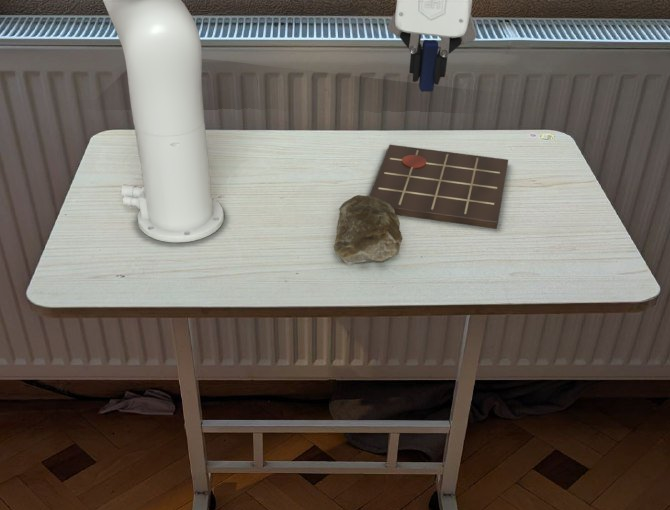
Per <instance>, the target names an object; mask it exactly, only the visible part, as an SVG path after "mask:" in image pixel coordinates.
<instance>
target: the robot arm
mask: <svg viewBox="0 0 670 510" xmlns="http://www.w3.org/2000/svg"><path fill="white" fill-rule="evenodd" d="M102 2H103V5H104V6H105V8H106V11H107V14H108V16H109V18H110V20H111V22H112V25H113V28H114V30H115V32H116V33H117V37H118V41H119V42H120V45H121V47H122V52H123V56H124V61H125V65H126V66H125V68H126V74H127V83H128V84H127V85H128V93H129V95H128V96H129V101H130V109H131V116H132V123H133V127H134V133H135V134H134V135H135V139H136V145H137V147H136V148H137V153H138V159H139V167H140V173H141V180H142V187H141V186H137V185H131V184H126V183H124V184H122V185H121V190H120V194H121V197H122V205H124V206H129V207H137V209H139V211H138V213H137V224H138V227H139V230H141V232H142V233H144V234H145V235H146V236H148V237H149V238H151V239H154V240H157V241H160V242H165V243H177V244H179V243H189V242H194V241H195V242H196V241H198V240H199V241H200V240H202V239H205V238H207V237H209V236H210V235H213V234H214V233H215V232H217V231H218V230H219V229H220V227H221V226H222V225H223V224H224V220H225V217H224V216H225V215H224V213H225V212H224V209H223V206H222V204H221V203H219V202H218V201H217V200H216V199H214V198H213V197H212V187H211V177H210V165H209V155H208V154H209V153H208V143H207V132H206V120H205V119H206V118H205V111H204V100H203V99H204V98H203V81H202V77H203V75H202V72H203V50H202V49H203V48H202V41H201V37H200V33H199V29H198V27H197V25H196V24H197V23H196V22H195V19H194V18H193V16H192V14H191V12H190V11H189V10H188V8H187V6H186V4H185V3H184V2H183V1H182V0H102ZM472 6H473V0H396V5H395V12H394V14H393V15H392V17H391V19H390V20H389V23H388V25H387V27H386V28H387V31H388V32H389V33H391V34H393V35H394V36H396V37H398V38H400V40H401V41H402V43H403V44H404V45H405V46H406V47H407V49H408V52H409V53H410V61H409V74H412V82H413V83H417V82H418V81H419V78H420V67H421V56H422V44H421V40H422V35H423V36H431V37H432V36H433V37H440V47H439V48H438V53H437V57H436V63H435V72H434V81H433V83H434V85H437V86H438V85H439V83H440V80H441V78H445V77H446V71H447V64H448V56H449V55H450V54H451V53H452V52H454V51H455V50H456V49H457V48H458V47H460V46H461V45H465V44H468V43H470V42H473V41H475V40H476V38H477V35H478V33H477V29H476V26H475V23H474V19H473V16H472Z"/></svg>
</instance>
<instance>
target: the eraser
mask: <svg viewBox="0 0 670 510" xmlns="http://www.w3.org/2000/svg"><path fill="white" fill-rule="evenodd" d="M421 47H422V56H421V67H420V77H419V79H418V81H419V82H418V88H419V91H420V92H424V93H428V92H430V93H431V92H432V93H433V91H434V88H435V87H434V86H435V83H433V81H434V72H435V63H436V57H437V54H438V51H439V42H438V40H436V39H430V40H429V39H424V40H423V42H422V45H421Z"/></svg>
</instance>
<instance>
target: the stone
mask: <svg viewBox="0 0 670 510" xmlns="http://www.w3.org/2000/svg"><path fill="white" fill-rule="evenodd" d="M338 210H339V212H338V215H339V216H338V220H337V225H336V232H335V233H336V235H335V239H334V245H333V250H334V251H335V253H336V254H337V255H338V256H339V258H340V259H341V261H342V262H343V263H345V264H346V265H348V266H349V265H352V264H356V265H357V264H358V265H359V264H360V265H361V264H367V263H384V262H386V261H387V260H388V259H391V258H392V257H395V256H397V255H399V254H400V249H401V244H402V241H403V236H402V232H401V229H400V227H401V226H400V225H401V224H400V223H401V222H400V219H399V217H398V215H396V214H395V211H394V209H393V208H392V207H391V206H390V204H389V203H387V202H385V201H381V200H379V199H377V198H375V197H371V196H369V195H361V194H357V195H354V196H353V197H352V196H351V198H349V199H347V200H346V201H344V202H343V203H342V204H341V206H339V208H338Z"/></svg>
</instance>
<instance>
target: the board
mask: <svg viewBox="0 0 670 510" xmlns="http://www.w3.org/2000/svg"><path fill="white" fill-rule="evenodd" d="M508 164H509V159H506V158H498V157H491V156H484V155H483V156H482V155H475V154H468V153H459V152H453V151H443V150H436V149H429V148H422V147H421V148H420V147H412V146H406V145H405V146H404V145H397V144H389V145H388V147H387V150H386V153H385V155H384V157H383V160H382V163H381V165H380V166H379V167H380V168H379V170H378V172H377V175H376V178H375V180H374V183H373V185H372V188H371V190H370V193H369V195H368V196H371V197H375V198H377V199H379V200H381V201H385V202H387V203H389V204H390V206H391V207H392V208H393V209H394V211H395V214H396V215H397V216H404V217H409V218H416V219H417V218H418V219H423V220H425V219H426V220H431V221H438V222H446V223H452V224H459V225H460V224H461V225H467V226H473V227H481V228H488V229H495V230H496V229H498V224H499V219H500V218H499V217H500V212H501V208H502V207H501V206H502V200H503V194H504V187H505V182H506V176H507V172H508V171H507V170H508Z"/></svg>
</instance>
